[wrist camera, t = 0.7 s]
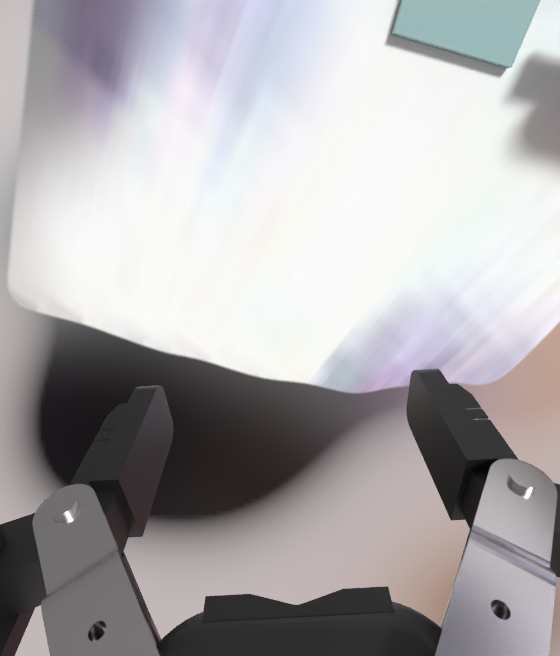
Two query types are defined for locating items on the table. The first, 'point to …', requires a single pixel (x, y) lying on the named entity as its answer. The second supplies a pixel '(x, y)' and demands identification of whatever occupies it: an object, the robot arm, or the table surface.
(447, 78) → the table surface
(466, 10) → the teal rubber mat
